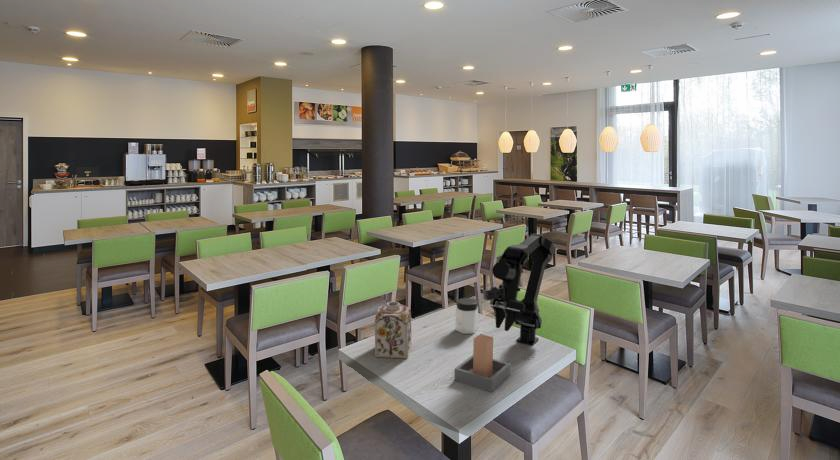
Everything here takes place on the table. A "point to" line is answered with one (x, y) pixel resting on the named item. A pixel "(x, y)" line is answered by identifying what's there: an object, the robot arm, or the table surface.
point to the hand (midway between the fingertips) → (501, 329)
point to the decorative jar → (393, 331)
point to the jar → (466, 316)
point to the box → (487, 383)
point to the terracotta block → (483, 355)
